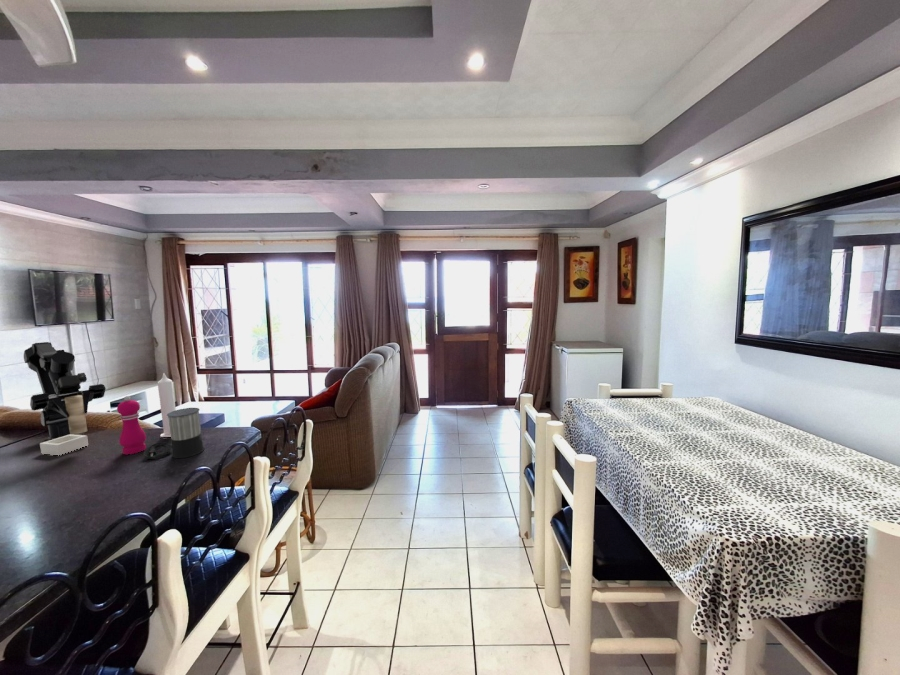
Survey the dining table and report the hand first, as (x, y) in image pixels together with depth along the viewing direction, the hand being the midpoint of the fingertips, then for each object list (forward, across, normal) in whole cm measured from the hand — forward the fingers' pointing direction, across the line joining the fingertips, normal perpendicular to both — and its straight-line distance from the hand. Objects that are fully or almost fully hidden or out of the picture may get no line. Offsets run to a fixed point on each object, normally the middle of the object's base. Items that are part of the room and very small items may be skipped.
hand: (77, 414), depth 131 cm
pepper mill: (+22, +9, -3) cm, 24 cm away
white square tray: (+4, -3, +15) cm, 16 cm away
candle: (+18, +23, +2) cm, 29 cm away
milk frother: (+34, +15, -15) cm, 40 cm away
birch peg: (+4, 0, +6) cm, 7 cm away
